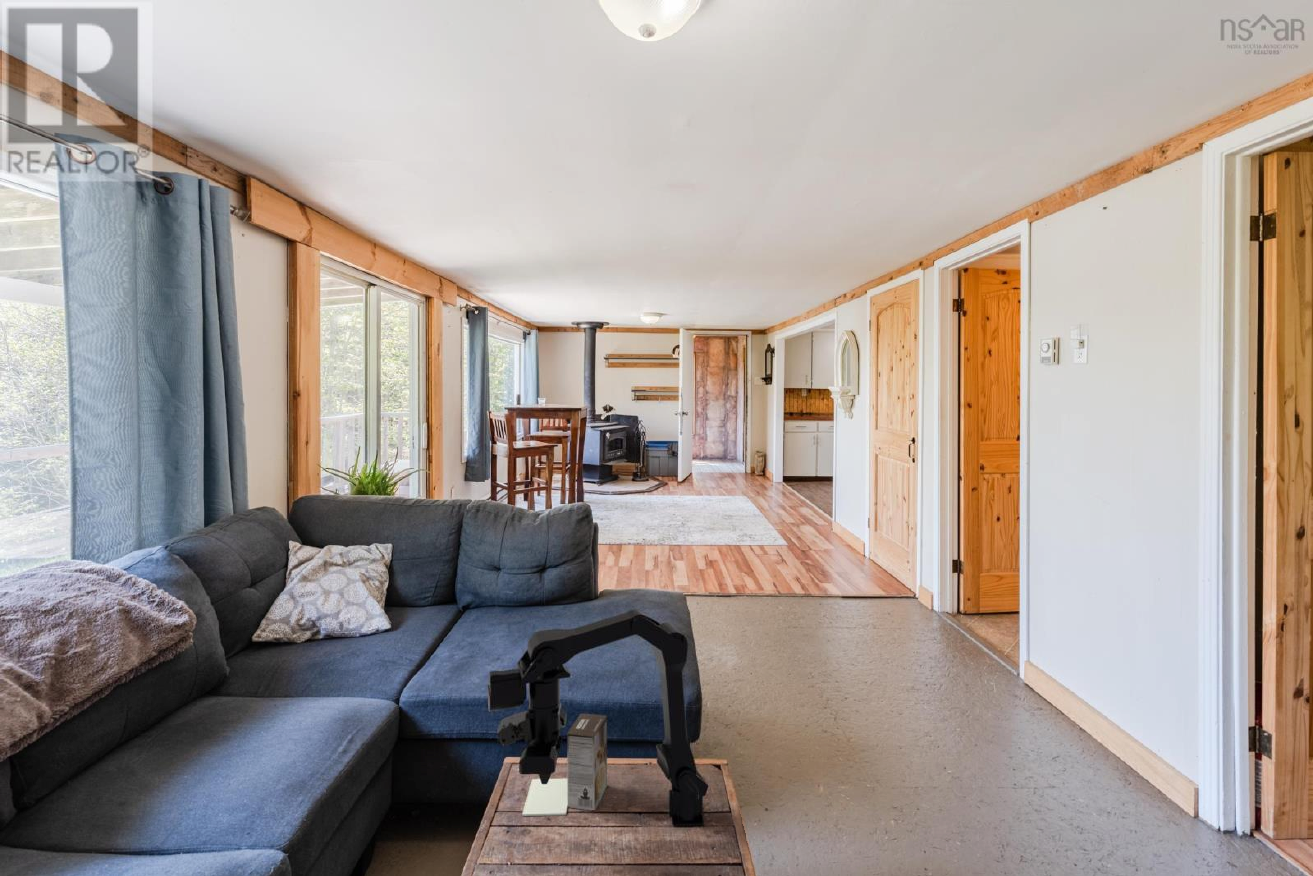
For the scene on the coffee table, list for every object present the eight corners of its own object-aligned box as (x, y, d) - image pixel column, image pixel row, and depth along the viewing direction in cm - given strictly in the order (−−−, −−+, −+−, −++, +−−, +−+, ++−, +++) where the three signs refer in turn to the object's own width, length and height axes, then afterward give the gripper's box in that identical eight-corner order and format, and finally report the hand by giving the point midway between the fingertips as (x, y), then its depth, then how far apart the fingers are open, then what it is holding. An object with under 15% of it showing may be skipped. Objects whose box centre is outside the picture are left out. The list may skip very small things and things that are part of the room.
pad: (572, 780, 133) (572, 778, 133) (565, 815, 121) (565, 813, 121) (532, 781, 133) (532, 779, 133) (522, 816, 121) (522, 814, 121)
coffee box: (580, 782, 133) (580, 712, 132) (607, 785, 131) (608, 714, 131) (566, 808, 124) (566, 733, 123) (595, 812, 122) (595, 736, 122)
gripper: (511, 680, 120) (511, 756, 120) (489, 727, 101) (489, 817, 101) (566, 679, 120) (566, 755, 120) (554, 726, 101) (554, 815, 102)
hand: (544, 783), depth 111 cm, fingers closed
